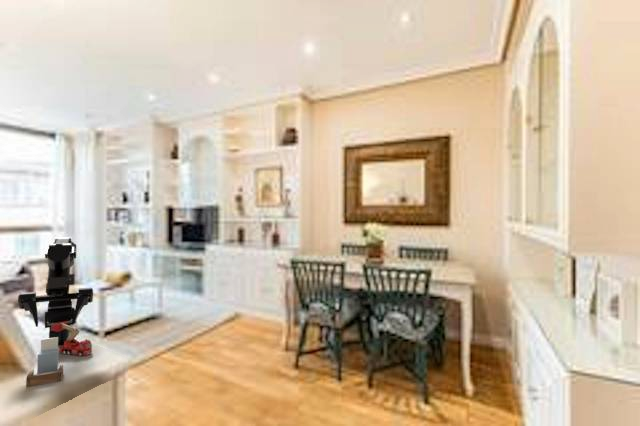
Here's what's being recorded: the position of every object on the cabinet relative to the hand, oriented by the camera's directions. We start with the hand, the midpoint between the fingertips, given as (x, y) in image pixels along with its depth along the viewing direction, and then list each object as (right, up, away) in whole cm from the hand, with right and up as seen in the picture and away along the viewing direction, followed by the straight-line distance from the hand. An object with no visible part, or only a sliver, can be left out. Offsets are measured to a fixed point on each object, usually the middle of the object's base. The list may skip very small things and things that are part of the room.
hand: (56, 323), depth 109 cm
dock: (+1, -13, -5) cm, 14 cm away
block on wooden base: (0, -13, -4) cm, 13 cm away
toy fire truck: (-3, -13, +11) cm, 17 cm away
